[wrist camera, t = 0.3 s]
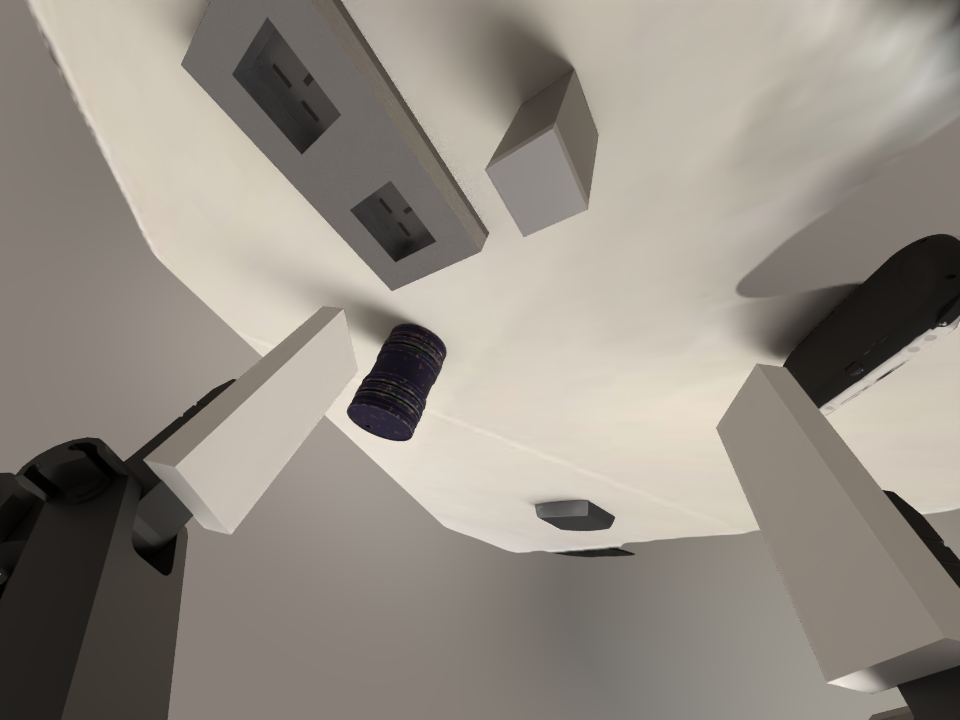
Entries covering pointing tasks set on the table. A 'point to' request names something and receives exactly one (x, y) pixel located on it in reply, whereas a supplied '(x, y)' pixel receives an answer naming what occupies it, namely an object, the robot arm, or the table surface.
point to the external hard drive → (575, 515)
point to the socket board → (336, 131)
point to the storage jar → (398, 383)
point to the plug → (547, 157)
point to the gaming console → (882, 323)
